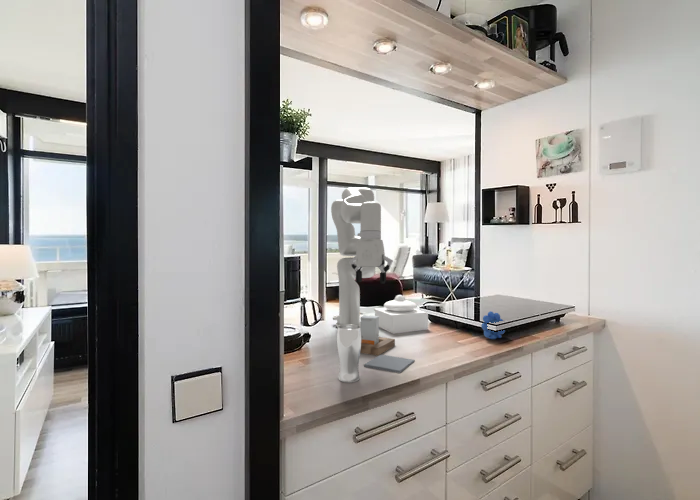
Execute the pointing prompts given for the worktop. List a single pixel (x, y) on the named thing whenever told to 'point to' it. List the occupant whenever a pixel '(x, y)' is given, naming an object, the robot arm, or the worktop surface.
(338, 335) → the beer glass
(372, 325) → the skincare box
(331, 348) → the worktop surface
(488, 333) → the grapes
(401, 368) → the slate mat
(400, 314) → the butter dish
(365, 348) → the walnut collar
